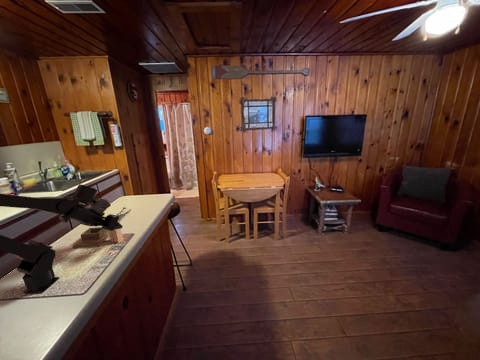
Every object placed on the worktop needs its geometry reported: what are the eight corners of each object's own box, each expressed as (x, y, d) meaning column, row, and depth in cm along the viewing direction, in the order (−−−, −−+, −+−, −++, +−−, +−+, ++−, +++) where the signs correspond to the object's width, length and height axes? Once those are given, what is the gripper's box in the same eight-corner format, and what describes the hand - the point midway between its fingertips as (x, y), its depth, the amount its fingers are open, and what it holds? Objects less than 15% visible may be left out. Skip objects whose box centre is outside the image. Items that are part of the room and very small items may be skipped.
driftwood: (119, 223, 111) (118, 220, 111) (106, 224, 111) (105, 221, 110) (134, 208, 131) (134, 205, 130) (124, 209, 131) (123, 206, 130)
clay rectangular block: (118, 243, 91) (112, 218, 88) (111, 241, 93) (104, 216, 90) (123, 240, 93) (117, 215, 90) (115, 238, 95) (109, 214, 92)
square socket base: (98, 246, 89) (96, 237, 88) (73, 248, 89) (70, 239, 88) (115, 230, 103) (113, 222, 102) (93, 231, 102) (91, 224, 101)
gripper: (109, 197, 79) (137, 211, 92) (79, 194, 86) (109, 207, 98) (94, 225, 74) (126, 235, 87) (63, 218, 81) (97, 229, 94)
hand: (114, 225), depth 92 cm, fingers open, 9 cm apart
